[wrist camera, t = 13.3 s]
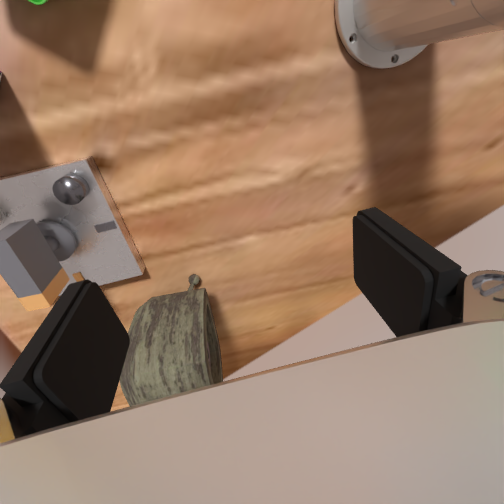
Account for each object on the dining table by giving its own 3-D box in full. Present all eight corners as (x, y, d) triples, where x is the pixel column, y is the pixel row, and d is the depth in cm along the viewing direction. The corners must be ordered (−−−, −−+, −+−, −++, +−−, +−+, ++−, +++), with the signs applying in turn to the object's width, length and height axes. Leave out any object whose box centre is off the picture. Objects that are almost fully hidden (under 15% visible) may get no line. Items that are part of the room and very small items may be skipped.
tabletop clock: (219, 332, 50) (231, 516, 29) (167, 342, 50) (140, 537, 28) (203, 263, 43) (202, 441, 21) (142, 274, 42) (78, 467, 21)
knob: (58, 206, 33) (20, 237, 27) (89, 264, 38) (63, 303, 31) (13, 215, 33) (-38, 248, 26) (49, 272, 37) (14, 314, 30)
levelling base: (-45, 188, 33) (-74, 200, 30) (91, 155, 33) (78, 163, 30) (36, 294, 41) (21, 313, 38) (145, 266, 42) (140, 283, 38)
